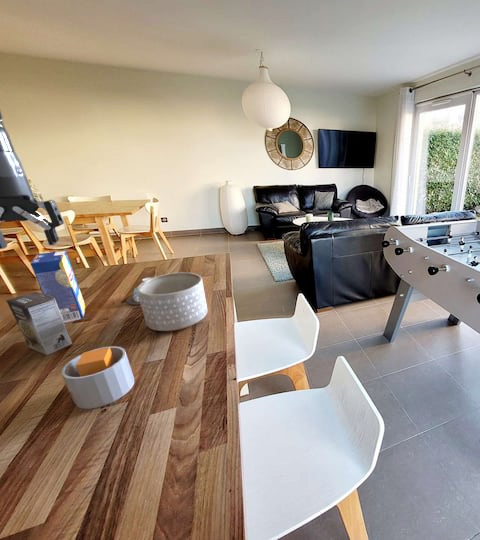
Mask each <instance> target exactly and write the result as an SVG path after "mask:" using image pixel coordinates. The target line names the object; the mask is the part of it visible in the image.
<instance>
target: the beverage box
mask: <svg viewBox="0 0 480 540" xmlns="http://www.w3.org/2000/svg"><path fill="white" fill-rule="evenodd" d="M30 266H31V269H32V270H33V271H32V272H33V273H34V276H35V278H36V281H37V283H38V285H39V287H40V290H41V292H42V293H41V294H44V295H47V296H51V297H54V298H55V301H56V303H57V306H58V308H59V311H60V313H61V316H62V318H63V321H64V324H65V323H69V322H74V321H79V320H83V319H84V317H85V312H86V303H85V300H84V297H83V295H82V292H81V289H80V287H79V284H78V281H77V279H76V276H75V273H74V270H73V266H72V265H71V261H70V259H69V256H68V253H67V250H61V251H52V252H51V251H50V252H43V253H37V254H36V255H35V257H34V258H33V260H32V261H31V262H30Z"/></svg>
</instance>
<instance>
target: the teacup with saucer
mask: <svg viewBox="0 0 480 540" xmlns="http://www.w3.org/2000/svg"><path fill="white" fill-rule="evenodd" d="M151 278H152V277H145V278H142V280H141V282H144V281H146V280H148V279H151ZM126 304H127V305H129V306H134V307H135V306H141V303H140V299H139V296H138V292H137V287H135V288H134V289H133V293H132V295H131V296H129V297H128V298H127V299H126Z"/></svg>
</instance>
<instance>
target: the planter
mask: <svg viewBox="0 0 480 540" xmlns="http://www.w3.org/2000/svg"><path fill="white" fill-rule="evenodd" d="M150 278H151V279H148V280H146V281H144V282H143V281H141V283H140V284H138V286H136V288H137V292H138V296H139V299H140V303H141V305H140V307H141V311H142V313H143V317H144V321H145V324H146V326H147V328H149V329H151V330H154V331H159V332H174V331H180V330H184V329H187V328H190V327H191V326H194V325H196V324H197V323H198V322H200V321H202V320H203V319H204V318H205V317H206V316H207V314H208V312H209V311H208V304H207V299H206V298H207V297H206V293H205V288H204V282H203V278H202V276H201V275H200V274H197V273H195V272H194V273H193V272H172V273H166V274H161V275H160V274H159V275H156V276H153V277H150Z"/></svg>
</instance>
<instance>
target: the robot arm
mask: <svg viewBox="0 0 480 540" xmlns="http://www.w3.org/2000/svg"><path fill="white" fill-rule="evenodd" d="M31 187H32V186H31V185H30V182H29V179H28V177H27V174H26V171H25V169H24V167H23V164H22V161H21V160H20V158H19V156H18V154H17V153H16V150H15V147H14V145H13V141H12V139H11V137H10V134H9V132H8V131H7V128H6V126H5V124H4V119H3V115H2V110H1V109H0V227H1V226H2V225H3V224H4V223H5V222H6V223H7V222H8V223H9V222H10V223H11V222H14V221H17V222H26V221H30V222H32V223H33V224H36V225H38V226H40V228H42V229H43V233H44V235H45V237H46V240H47V243H48V245H49V246H55V245H56V244H57V243H58V242H59V240H60V238H59V235H58V233H57V230H56V228H57V227H60V226H62V225H64V223H65V221H64V219H63V217H62V215H61V212H60V210H59V207H58V205H57V203H56V201H55V200H54V199H48V200H42V201H41V200H39V201H37V199H36V198H35V197H34V193H33V189H32V188H31ZM39 208H42V209H43V210H44V211H45V212H47V214H48V218H49V219H50V220H49V219H47V217H46V215H44V214H42V213H41V212H39V211H38V210H39ZM5 248H8V243H7V240H6V238H5V236H4V234H3V232H2V230H0V250H2V249H5Z"/></svg>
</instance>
